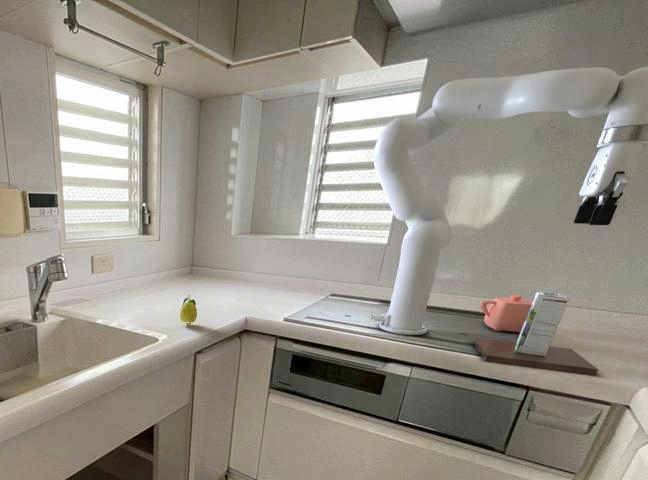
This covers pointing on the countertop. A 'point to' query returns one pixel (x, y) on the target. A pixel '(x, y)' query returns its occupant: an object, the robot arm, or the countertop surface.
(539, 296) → the syrup box
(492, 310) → the teapot
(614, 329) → the countertop surface
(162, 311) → the countertop surface
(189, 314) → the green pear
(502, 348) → the cutting board
